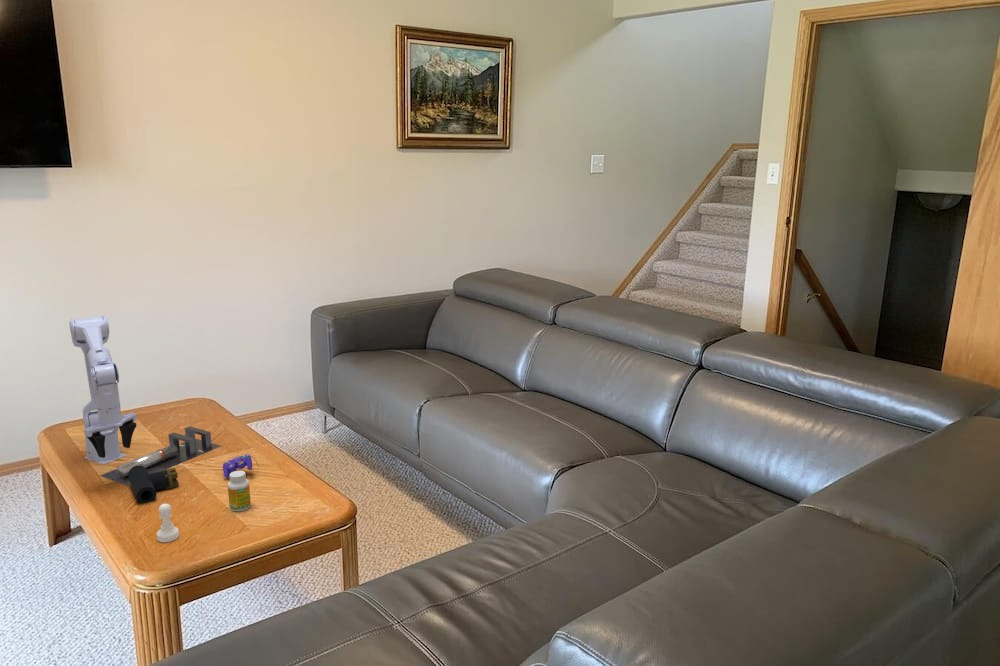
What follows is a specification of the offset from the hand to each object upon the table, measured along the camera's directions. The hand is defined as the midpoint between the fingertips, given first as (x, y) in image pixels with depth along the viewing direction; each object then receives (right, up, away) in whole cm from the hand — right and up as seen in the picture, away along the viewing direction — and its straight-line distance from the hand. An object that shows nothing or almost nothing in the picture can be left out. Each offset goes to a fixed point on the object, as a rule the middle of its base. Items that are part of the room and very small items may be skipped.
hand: (114, 452), depth 210 cm
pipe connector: (+12, -11, -1) cm, 16 cm away
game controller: (+32, -8, +10) cm, 34 cm away
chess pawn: (+27, -17, -26) cm, 41 cm away
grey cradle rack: (+5, -6, +17) cm, 19 cm away
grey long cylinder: (+3, -6, +13) cm, 15 cm away
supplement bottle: (+39, -13, -10) cm, 42 cm away
